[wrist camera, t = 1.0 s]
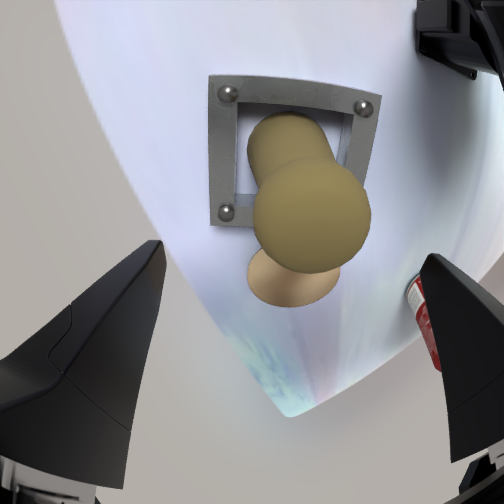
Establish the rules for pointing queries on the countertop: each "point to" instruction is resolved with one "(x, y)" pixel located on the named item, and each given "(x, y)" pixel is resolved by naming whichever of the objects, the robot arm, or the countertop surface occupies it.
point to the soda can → (422, 317)
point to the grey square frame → (287, 93)
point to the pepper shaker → (304, 196)
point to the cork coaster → (287, 283)
